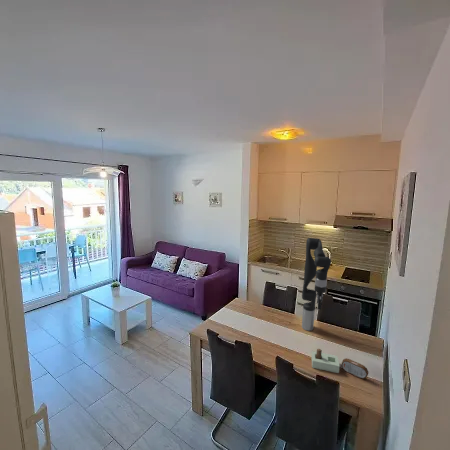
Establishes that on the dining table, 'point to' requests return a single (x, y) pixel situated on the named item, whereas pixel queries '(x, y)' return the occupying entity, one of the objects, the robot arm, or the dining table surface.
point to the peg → (318, 354)
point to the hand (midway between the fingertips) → (318, 306)
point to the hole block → (325, 362)
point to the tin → (355, 368)
